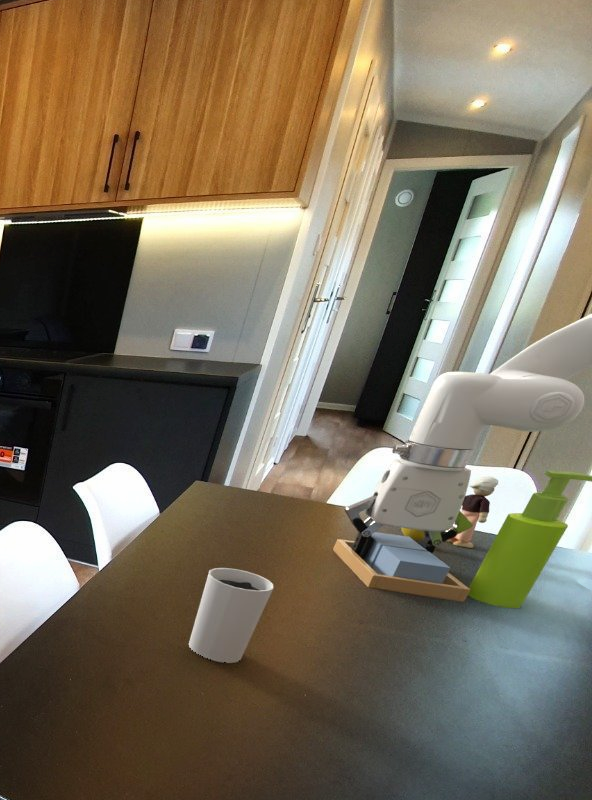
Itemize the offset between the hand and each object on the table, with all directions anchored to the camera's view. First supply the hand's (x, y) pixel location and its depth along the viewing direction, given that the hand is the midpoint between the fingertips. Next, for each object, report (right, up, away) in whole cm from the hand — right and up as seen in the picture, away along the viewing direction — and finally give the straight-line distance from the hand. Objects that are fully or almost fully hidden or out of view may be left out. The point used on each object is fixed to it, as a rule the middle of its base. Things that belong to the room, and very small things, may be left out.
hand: (386, 560), depth 106 cm
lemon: (+16, +3, +12) cm, 20 cm away
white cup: (-46, -13, -26) cm, 54 cm away
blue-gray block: (0, -1, 0) cm, 1 cm away
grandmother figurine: (+25, +4, +13) cm, 29 cm away
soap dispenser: (+7, -7, -11) cm, 14 cm away
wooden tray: (-1, -3, -2) cm, 4 cm away
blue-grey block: (-3, -4, -6) cm, 8 cm away
